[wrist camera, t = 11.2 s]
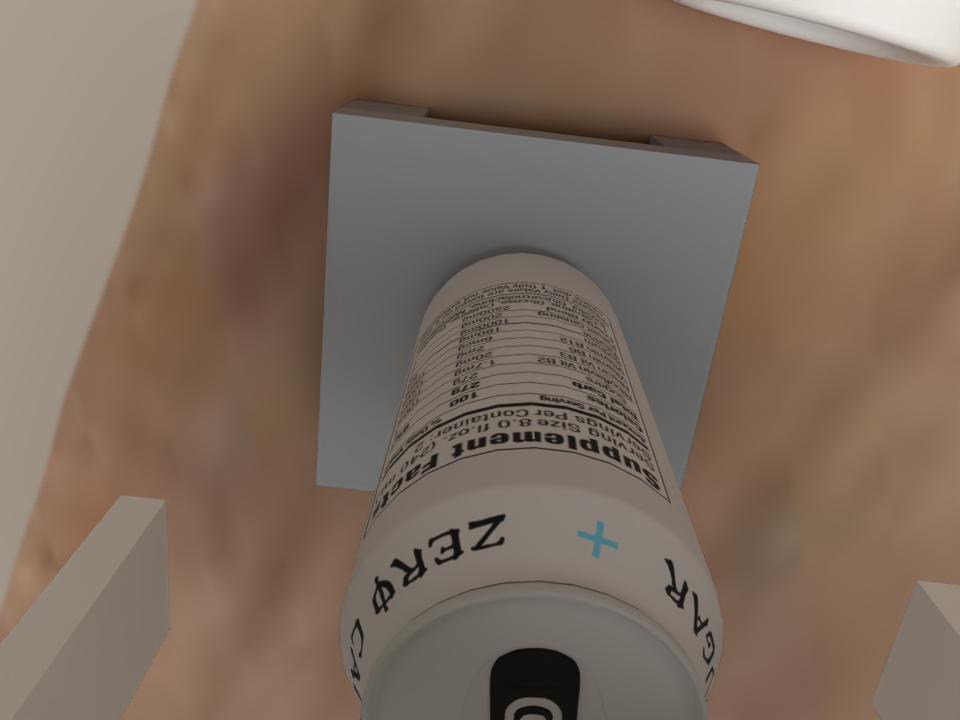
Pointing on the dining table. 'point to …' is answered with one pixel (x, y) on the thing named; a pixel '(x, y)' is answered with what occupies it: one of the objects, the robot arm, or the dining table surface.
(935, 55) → the mug
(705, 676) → the energy drink can
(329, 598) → the dining table surface
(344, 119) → the stand
